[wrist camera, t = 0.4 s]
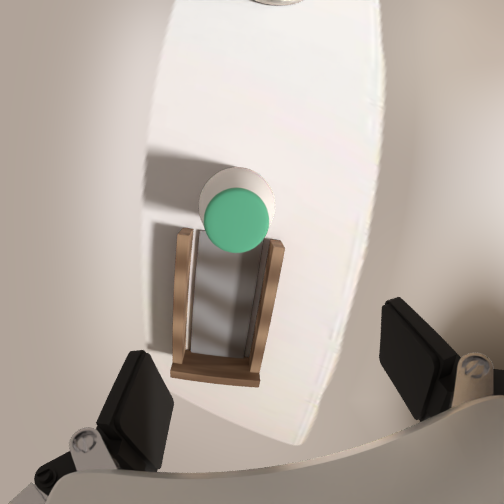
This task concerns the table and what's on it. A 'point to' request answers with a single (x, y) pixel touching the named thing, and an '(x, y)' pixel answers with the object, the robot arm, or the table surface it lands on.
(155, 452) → the robot arm
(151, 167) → the table surface
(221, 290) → the rest
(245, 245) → the milk bottle
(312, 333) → the table surface
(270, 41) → the table surface
